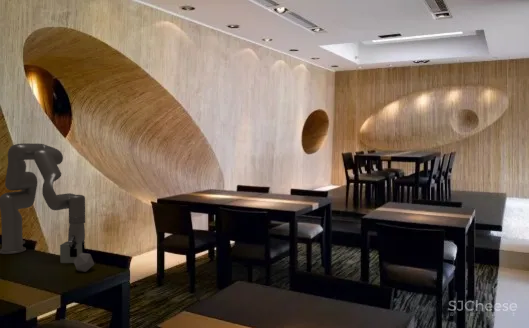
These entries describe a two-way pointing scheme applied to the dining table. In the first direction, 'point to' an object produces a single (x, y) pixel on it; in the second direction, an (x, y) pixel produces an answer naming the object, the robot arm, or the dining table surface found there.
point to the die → (83, 262)
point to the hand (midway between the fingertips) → (77, 254)
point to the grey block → (68, 252)
